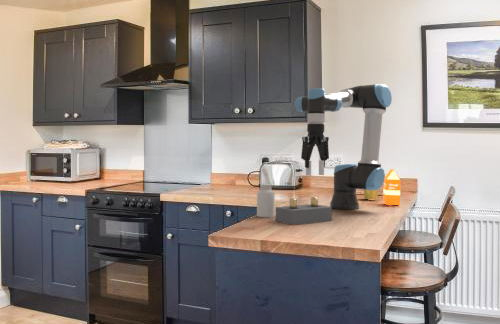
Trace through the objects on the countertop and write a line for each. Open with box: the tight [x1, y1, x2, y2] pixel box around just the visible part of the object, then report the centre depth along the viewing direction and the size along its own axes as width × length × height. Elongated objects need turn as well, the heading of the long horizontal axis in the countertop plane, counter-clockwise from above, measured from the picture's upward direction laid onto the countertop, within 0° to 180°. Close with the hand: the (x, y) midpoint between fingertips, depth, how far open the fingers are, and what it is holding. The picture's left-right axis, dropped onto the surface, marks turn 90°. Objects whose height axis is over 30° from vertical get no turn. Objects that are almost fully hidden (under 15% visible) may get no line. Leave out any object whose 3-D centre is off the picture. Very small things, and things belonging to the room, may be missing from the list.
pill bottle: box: [256, 183, 275, 219], centre depth 224 cm, size 8×8×15 cm
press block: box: [274, 203, 333, 226], centre depth 214 cm, size 22×12×6 cm, turn 123°
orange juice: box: [382, 168, 402, 206], centre depth 271 cm, size 8×9×20 cm
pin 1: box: [288, 198, 298, 209], centre depth 210 cm, size 3×3×6 cm
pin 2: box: [310, 196, 319, 207], centre depth 217 cm, size 3×3×6 cm
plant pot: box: [362, 189, 380, 200], centre depth 292 cm, size 10×10×10 cm
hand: (314, 175), depth 216 cm, fingers open, 7 cm apart
